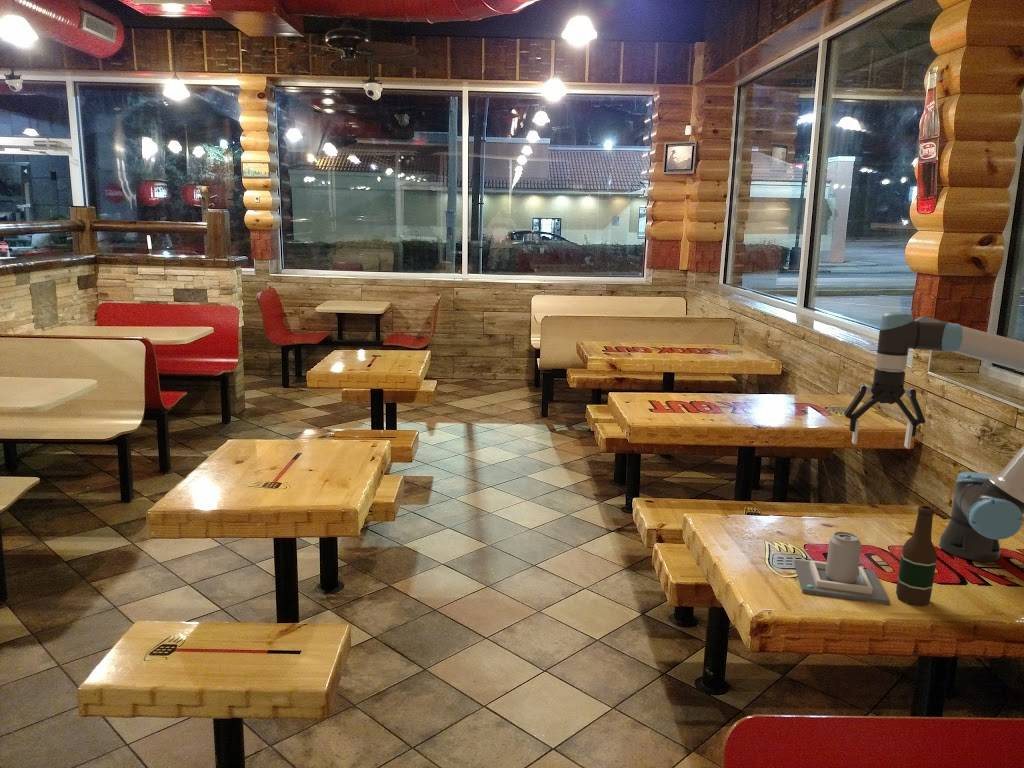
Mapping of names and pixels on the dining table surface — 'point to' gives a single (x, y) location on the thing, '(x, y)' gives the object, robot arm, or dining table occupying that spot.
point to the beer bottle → (918, 562)
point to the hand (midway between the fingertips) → (880, 445)
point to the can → (843, 557)
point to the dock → (820, 584)
